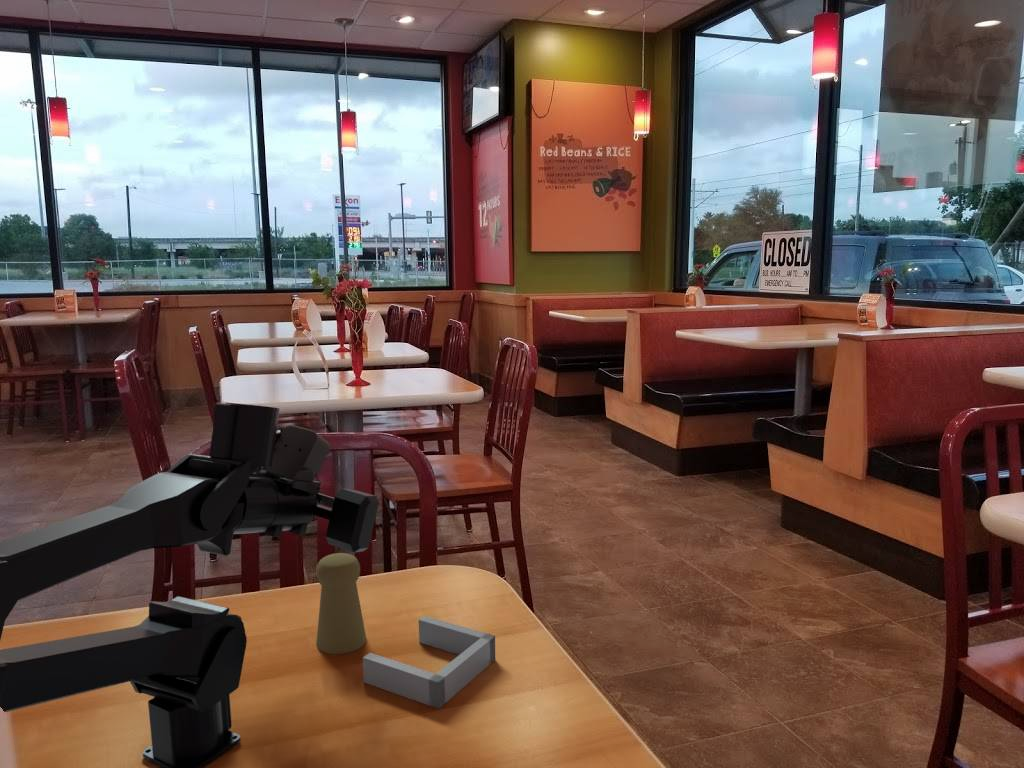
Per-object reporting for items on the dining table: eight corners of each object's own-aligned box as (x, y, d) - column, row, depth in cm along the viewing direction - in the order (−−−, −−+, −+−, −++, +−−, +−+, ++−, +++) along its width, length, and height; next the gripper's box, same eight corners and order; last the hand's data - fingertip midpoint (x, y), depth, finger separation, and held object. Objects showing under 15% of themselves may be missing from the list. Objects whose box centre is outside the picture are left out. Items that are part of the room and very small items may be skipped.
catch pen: (438, 708, 81) (438, 682, 80) (363, 682, 86) (362, 657, 85) (495, 659, 91) (495, 635, 90) (425, 638, 96) (424, 615, 95)
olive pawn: (372, 630, 98) (369, 548, 96) (358, 655, 92) (354, 567, 90) (325, 628, 98) (321, 546, 96) (309, 653, 92) (304, 566, 90)
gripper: (346, 448, 77) (423, 455, 91) (209, 411, 85) (300, 423, 99) (320, 558, 76) (402, 548, 91) (184, 511, 84) (279, 508, 98)
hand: (344, 503), depth 95 cm, fingers open, 9 cm apart
